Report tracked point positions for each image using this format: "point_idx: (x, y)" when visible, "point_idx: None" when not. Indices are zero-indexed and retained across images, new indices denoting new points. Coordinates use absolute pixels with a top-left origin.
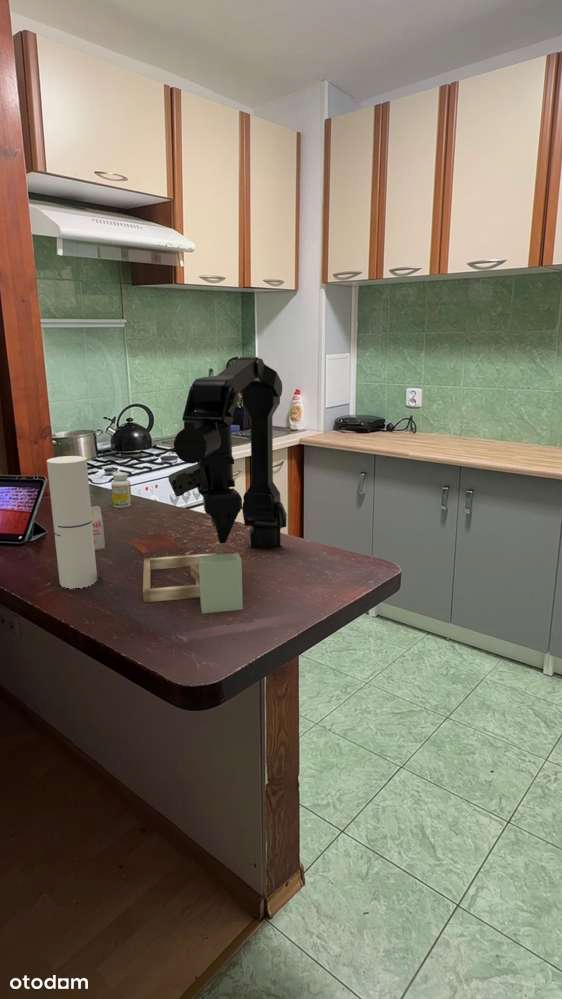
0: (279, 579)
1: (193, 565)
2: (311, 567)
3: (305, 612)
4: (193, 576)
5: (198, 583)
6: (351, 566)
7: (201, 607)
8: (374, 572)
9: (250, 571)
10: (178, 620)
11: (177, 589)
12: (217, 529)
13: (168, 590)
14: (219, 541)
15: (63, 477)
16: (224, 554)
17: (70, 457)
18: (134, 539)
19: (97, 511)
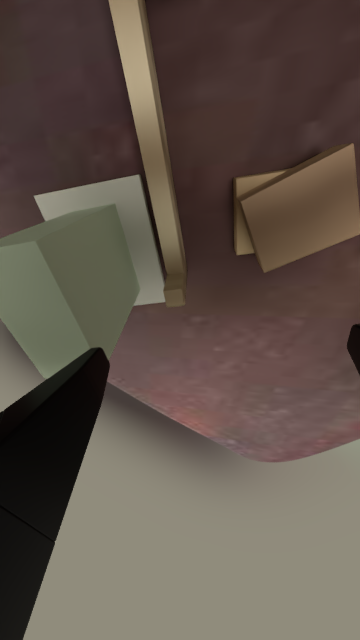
0: (271, 353)
1: (351, 157)
2: (310, 397)
3: (134, 373)
4: (308, 160)
5: (256, 183)
6: (292, 435)
7: (84, 210)
8: (261, 449)
9: (337, 307)
10: (65, 141)
11: (134, 117)
12: (17, 405)
13: (125, 74)
14: (85, 352)
15: None
16: (81, 337)
17: None
18: None
19: None
